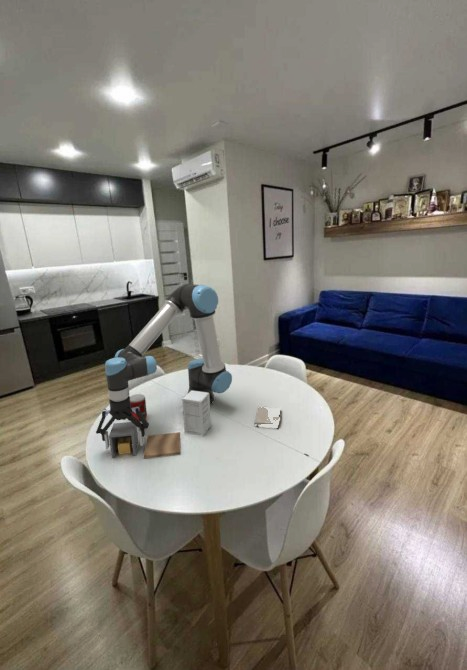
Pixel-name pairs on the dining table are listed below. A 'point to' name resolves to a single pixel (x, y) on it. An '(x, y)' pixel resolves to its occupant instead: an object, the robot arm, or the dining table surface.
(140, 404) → the canned food
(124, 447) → the letter cube
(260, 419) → the washcloth
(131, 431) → the grey box with opening
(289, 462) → the dining table surface
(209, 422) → the supplement box
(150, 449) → the walnut board
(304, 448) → the dining table surface
